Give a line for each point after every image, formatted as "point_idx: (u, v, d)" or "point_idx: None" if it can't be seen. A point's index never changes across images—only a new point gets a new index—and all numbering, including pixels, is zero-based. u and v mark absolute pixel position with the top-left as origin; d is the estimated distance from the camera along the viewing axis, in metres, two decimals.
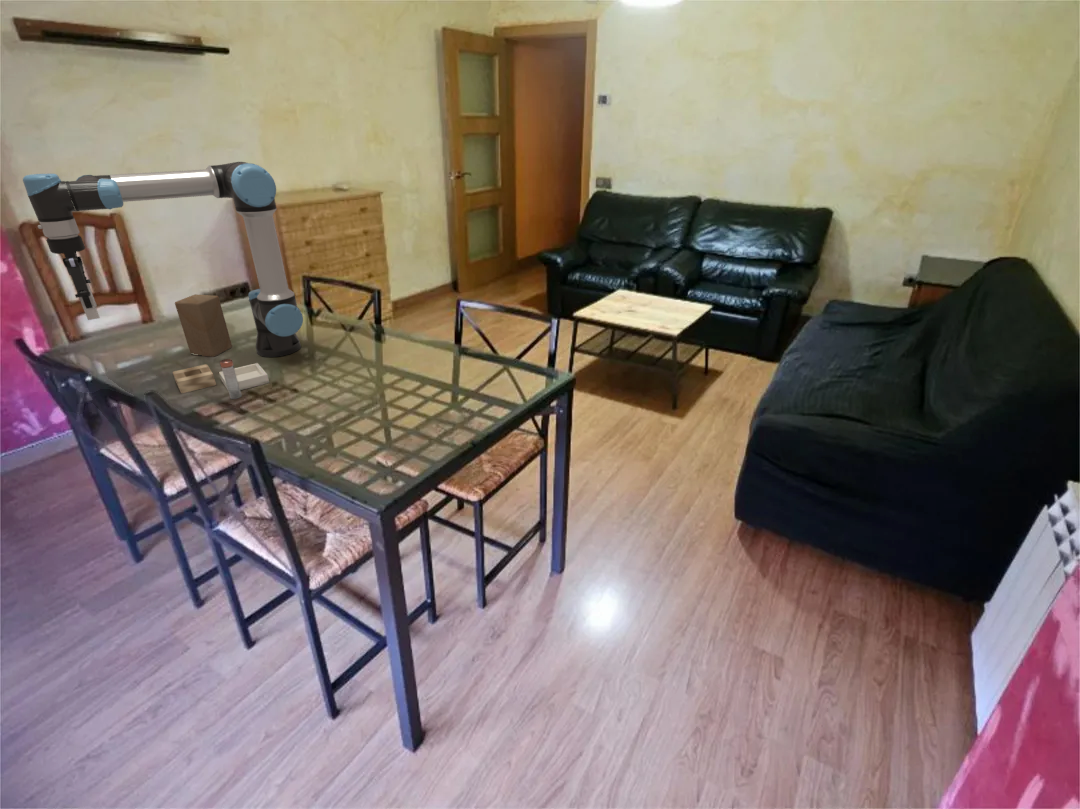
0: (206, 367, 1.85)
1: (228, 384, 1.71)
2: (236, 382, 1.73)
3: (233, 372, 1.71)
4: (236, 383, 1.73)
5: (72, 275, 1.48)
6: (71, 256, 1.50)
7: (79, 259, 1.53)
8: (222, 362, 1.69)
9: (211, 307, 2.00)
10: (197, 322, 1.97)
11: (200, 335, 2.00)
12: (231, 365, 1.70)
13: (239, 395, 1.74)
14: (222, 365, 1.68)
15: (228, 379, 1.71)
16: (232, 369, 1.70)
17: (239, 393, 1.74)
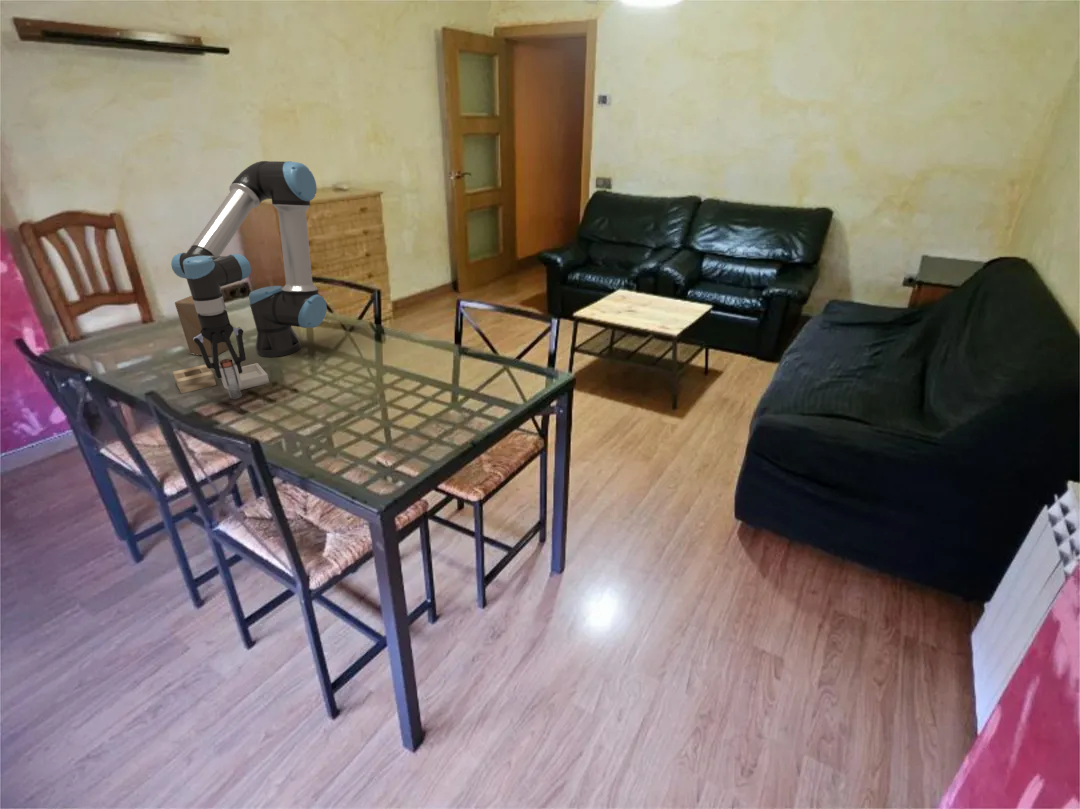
0: (206, 367, 1.85)
1: (228, 384, 1.71)
2: (236, 382, 1.73)
3: (233, 372, 1.71)
4: (236, 383, 1.73)
5: (200, 350, 1.65)
6: None
7: (212, 335, 1.63)
8: (222, 362, 1.69)
9: None
10: (197, 322, 1.97)
11: None
12: (231, 365, 1.70)
13: (239, 395, 1.74)
14: (222, 365, 1.68)
15: (228, 379, 1.71)
16: (232, 369, 1.70)
17: (239, 393, 1.74)
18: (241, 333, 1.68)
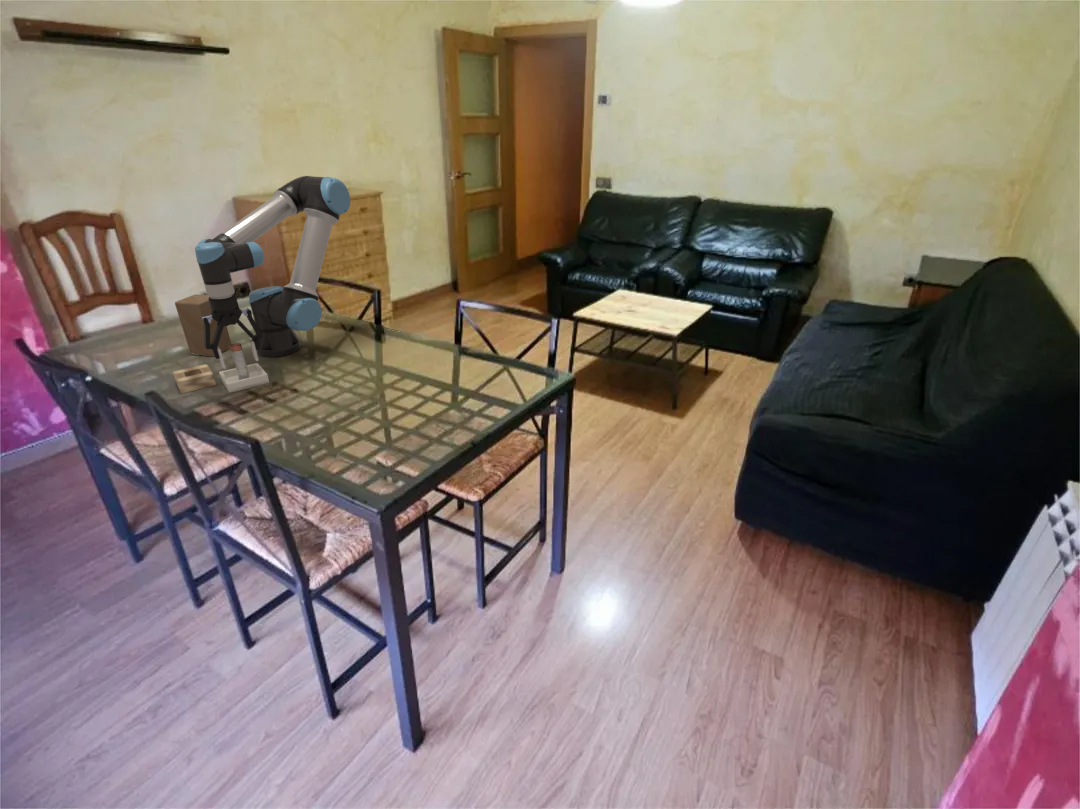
0: (206, 367, 1.85)
1: (237, 367, 1.81)
2: (245, 365, 1.82)
3: (242, 356, 1.80)
4: (245, 366, 1.82)
5: (204, 330, 1.73)
6: None
7: (221, 317, 1.72)
8: (232, 346, 1.78)
9: None
10: (197, 322, 1.97)
11: (200, 335, 2.00)
12: (240, 349, 1.79)
13: None
14: (232, 349, 1.78)
15: (237, 362, 1.80)
16: (241, 353, 1.80)
17: (248, 376, 1.84)
18: (250, 313, 1.77)
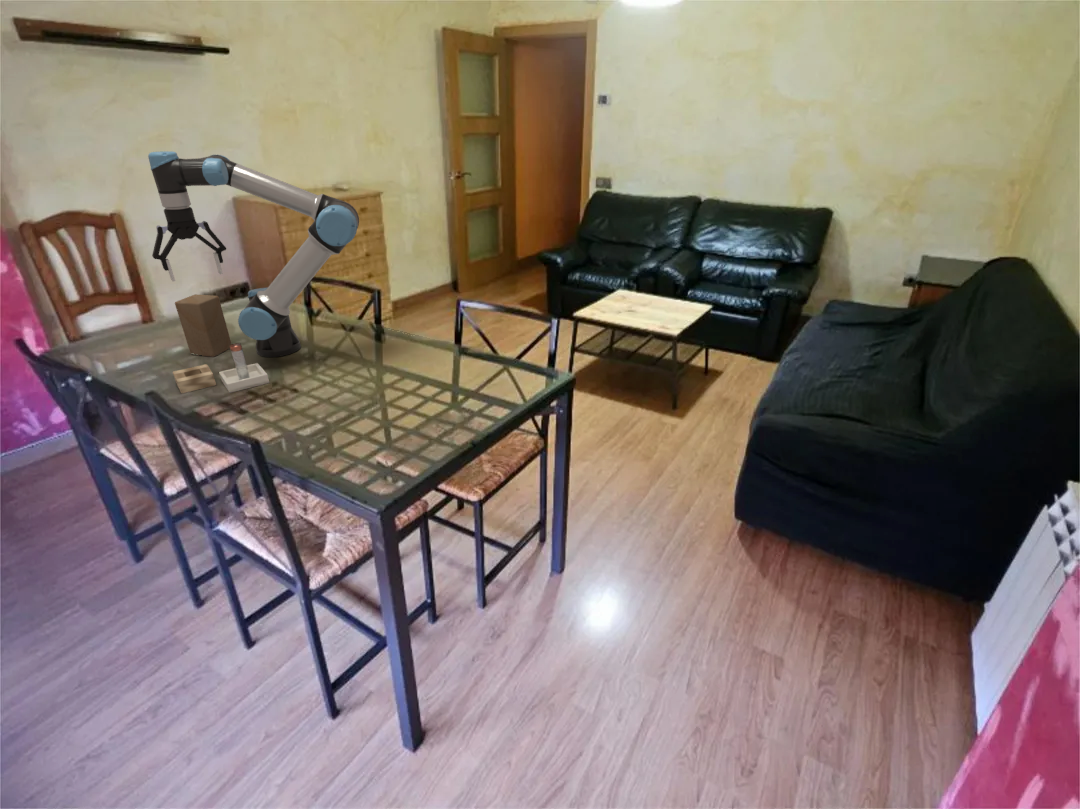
0: (206, 367, 1.85)
1: (237, 367, 1.81)
2: (245, 365, 1.82)
3: (242, 356, 1.80)
4: (245, 366, 1.82)
5: (156, 239, 1.71)
6: (168, 224, 1.70)
7: (177, 229, 1.71)
8: (232, 346, 1.78)
9: (211, 307, 2.00)
10: (197, 322, 1.97)
11: (200, 335, 2.00)
12: (240, 349, 1.79)
13: None
14: (232, 349, 1.78)
15: (237, 362, 1.80)
16: (241, 353, 1.80)
17: (248, 376, 1.84)
18: (207, 225, 1.76)
